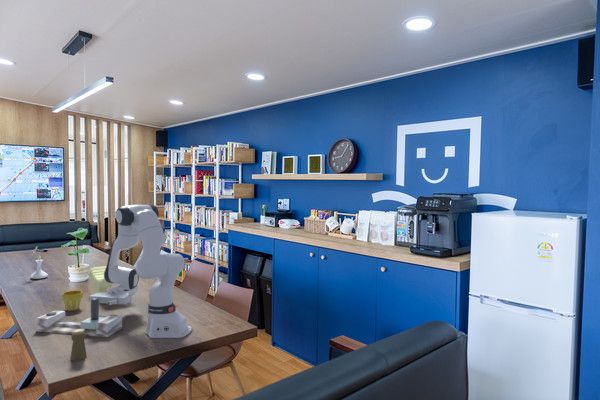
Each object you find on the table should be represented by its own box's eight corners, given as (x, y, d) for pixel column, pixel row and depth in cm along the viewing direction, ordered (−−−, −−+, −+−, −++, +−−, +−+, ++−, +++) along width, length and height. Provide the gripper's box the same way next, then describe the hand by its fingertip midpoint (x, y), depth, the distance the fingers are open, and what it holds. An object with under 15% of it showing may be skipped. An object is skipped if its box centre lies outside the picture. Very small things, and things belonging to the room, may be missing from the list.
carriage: (108, 325, 198) (108, 297, 197) (95, 332, 188) (95, 302, 188) (93, 323, 199) (94, 296, 198) (80, 331, 189) (80, 301, 188)
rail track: (121, 328, 198) (122, 314, 198) (107, 337, 186) (107, 322, 186) (54, 322, 203) (54, 309, 203) (36, 331, 191) (36, 316, 191)
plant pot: (57, 310, 223) (57, 293, 222) (74, 305, 232) (74, 289, 232) (70, 312, 219) (70, 295, 218) (86, 307, 228) (86, 291, 228)
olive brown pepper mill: (73, 362, 159) (73, 336, 159) (68, 357, 163) (68, 332, 163) (88, 357, 164) (88, 332, 164) (83, 353, 168) (83, 328, 168)
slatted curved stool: (89, 294, 256) (89, 267, 256) (114, 290, 267) (114, 264, 266) (103, 305, 234) (103, 276, 234) (130, 300, 245) (130, 272, 244)
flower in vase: (35, 276, 299) (35, 244, 298) (51, 276, 300) (51, 244, 300) (25, 280, 286) (25, 247, 285) (41, 280, 287) (41, 247, 287)
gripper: (99, 288, 212) (82, 295, 199) (133, 290, 210) (118, 298, 196) (99, 300, 213) (82, 307, 199) (133, 302, 210) (118, 310, 196)
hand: (100, 302), depth 197 cm, fingers open, 8 cm apart
